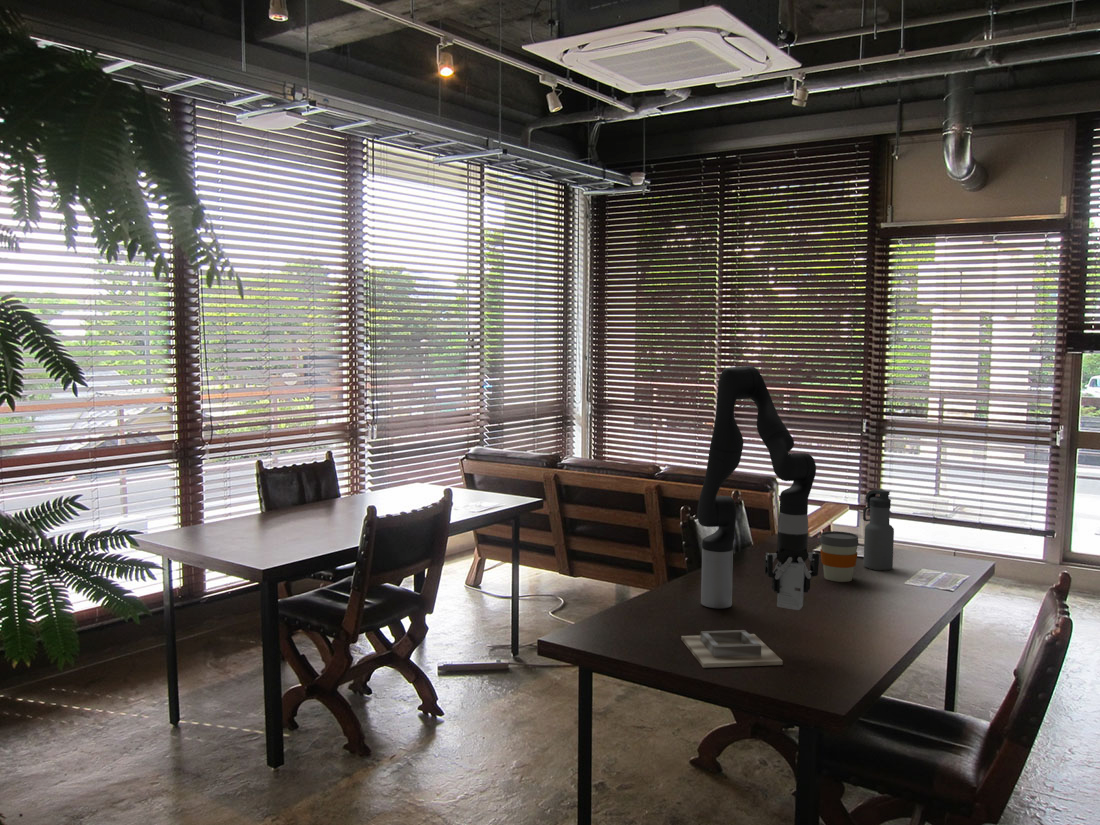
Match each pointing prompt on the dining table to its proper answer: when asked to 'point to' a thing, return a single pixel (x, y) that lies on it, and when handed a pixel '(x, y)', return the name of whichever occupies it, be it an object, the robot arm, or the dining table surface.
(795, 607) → the skincare box
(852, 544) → the reusable coffee cup
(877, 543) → the water bottle
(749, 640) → the square frame tray
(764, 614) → the dining table surface
